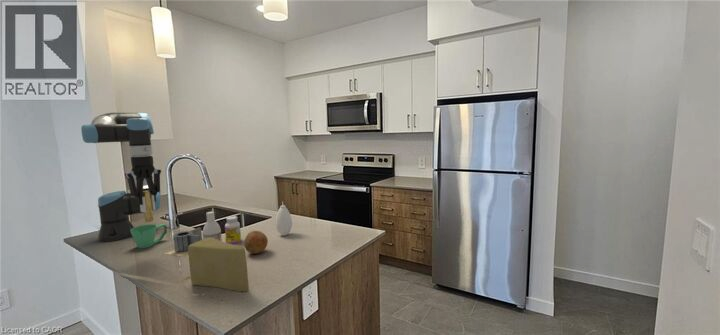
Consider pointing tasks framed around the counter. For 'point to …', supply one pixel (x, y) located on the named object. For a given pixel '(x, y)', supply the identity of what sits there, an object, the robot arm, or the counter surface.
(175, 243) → the grey piece
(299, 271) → the counter surface
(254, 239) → the onion
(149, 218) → the hinge pin
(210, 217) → the bath foam
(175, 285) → the counter surface
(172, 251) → the mounting board
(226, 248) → the cheese
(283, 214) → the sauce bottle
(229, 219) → the supplement bottle
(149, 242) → the mug
